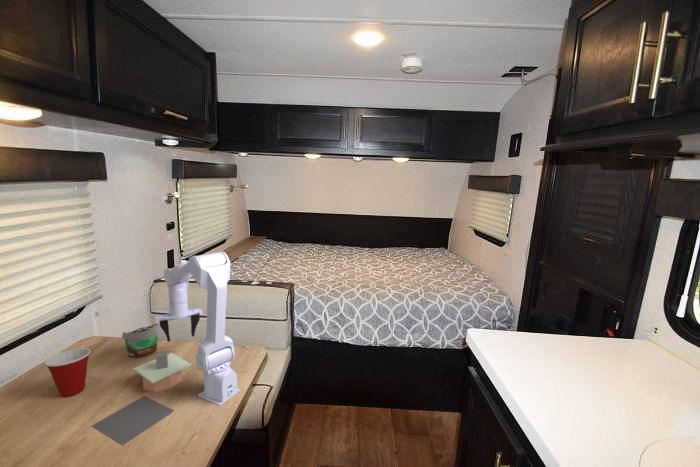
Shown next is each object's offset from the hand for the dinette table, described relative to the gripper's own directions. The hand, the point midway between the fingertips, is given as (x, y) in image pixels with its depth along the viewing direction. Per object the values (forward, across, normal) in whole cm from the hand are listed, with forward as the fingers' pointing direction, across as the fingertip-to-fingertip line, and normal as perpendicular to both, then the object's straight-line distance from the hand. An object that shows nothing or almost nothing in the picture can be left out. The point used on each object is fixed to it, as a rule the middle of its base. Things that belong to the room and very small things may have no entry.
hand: (181, 337), depth 116 cm
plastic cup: (+10, +30, -1) cm, 32 cm away
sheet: (+5, +7, +8) cm, 12 cm away
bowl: (+10, +7, +8) cm, 15 cm away
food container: (+10, +11, -15) cm, 21 cm away
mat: (+10, +15, +24) cm, 29 cm away
